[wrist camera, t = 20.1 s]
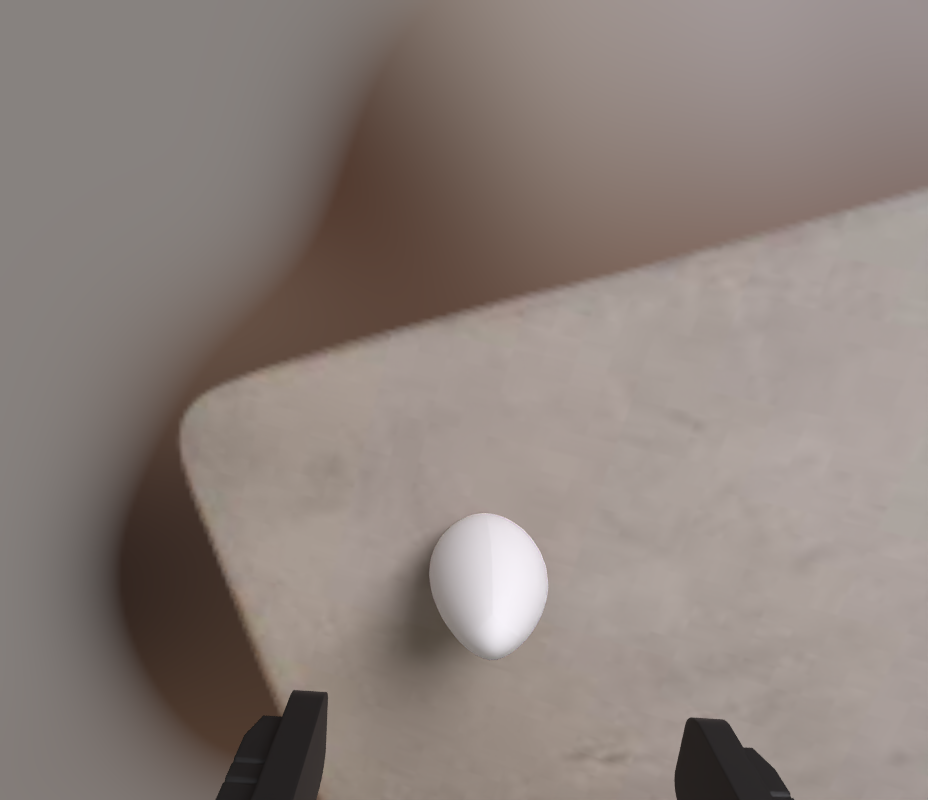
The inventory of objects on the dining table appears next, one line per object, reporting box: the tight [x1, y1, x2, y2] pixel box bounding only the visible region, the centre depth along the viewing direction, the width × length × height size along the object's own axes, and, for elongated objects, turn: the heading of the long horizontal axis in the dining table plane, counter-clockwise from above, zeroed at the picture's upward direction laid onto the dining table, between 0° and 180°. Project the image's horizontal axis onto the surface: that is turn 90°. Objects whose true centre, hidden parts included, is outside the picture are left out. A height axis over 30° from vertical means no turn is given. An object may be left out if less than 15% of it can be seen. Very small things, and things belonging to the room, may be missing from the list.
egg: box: [429, 513, 548, 660], centre depth 18 cm, size 4×4×6 cm
